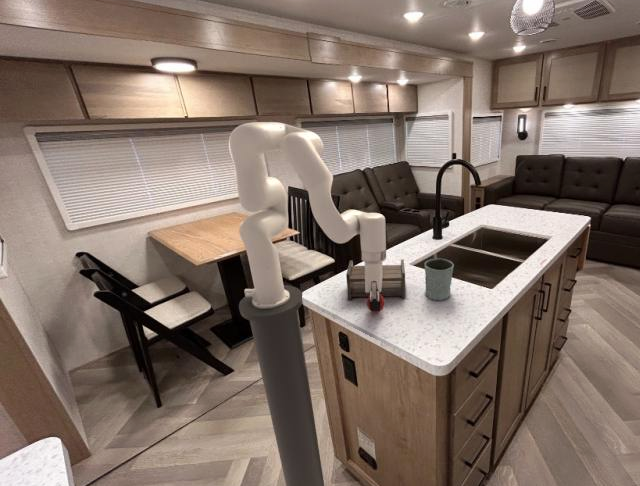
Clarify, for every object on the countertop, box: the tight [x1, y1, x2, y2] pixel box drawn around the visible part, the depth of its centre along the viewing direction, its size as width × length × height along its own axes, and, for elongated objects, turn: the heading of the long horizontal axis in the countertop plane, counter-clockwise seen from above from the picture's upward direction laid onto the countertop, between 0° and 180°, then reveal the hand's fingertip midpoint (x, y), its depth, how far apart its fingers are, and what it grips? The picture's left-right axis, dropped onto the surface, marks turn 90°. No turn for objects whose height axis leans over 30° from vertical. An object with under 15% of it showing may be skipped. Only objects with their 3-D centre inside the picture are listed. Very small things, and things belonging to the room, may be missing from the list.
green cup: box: [424, 258, 455, 301], centre depth 113 cm, size 10×10×12 cm
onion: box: [366, 293, 386, 314], centre depth 103 cm, size 6×6×8 cm
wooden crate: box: [345, 259, 406, 301], centre depth 116 cm, size 20×12×10 cm, turn 92°
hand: (375, 304), depth 104 cm, fingers open, 6 cm apart
